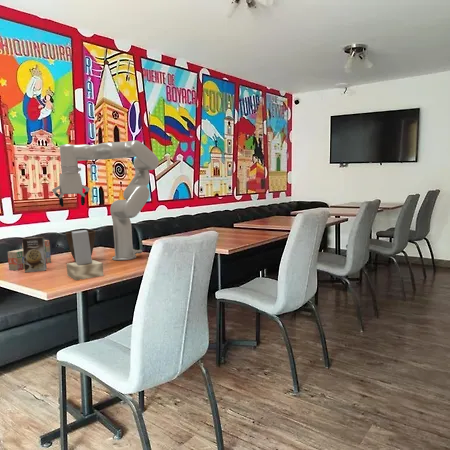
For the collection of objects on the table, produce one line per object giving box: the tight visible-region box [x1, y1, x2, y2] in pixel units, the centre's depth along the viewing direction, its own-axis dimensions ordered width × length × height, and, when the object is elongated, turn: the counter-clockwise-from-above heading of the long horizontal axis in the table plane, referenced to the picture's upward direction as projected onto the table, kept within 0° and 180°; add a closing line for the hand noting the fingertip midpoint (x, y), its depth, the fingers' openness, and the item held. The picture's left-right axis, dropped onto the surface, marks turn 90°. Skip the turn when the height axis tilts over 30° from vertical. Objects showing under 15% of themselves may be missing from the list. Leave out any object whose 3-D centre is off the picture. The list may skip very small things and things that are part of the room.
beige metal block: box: [66, 259, 105, 281], centre depth 185 cm, size 12×12×6 cm
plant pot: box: [65, 229, 96, 262], centre depth 220 cm, size 15×15×16 cm
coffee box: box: [22, 236, 48, 273], centre depth 201 cm, size 9×6×16 cm
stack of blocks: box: [7, 239, 52, 271], centre depth 214 cm, size 21×6×12 cm, turn 158°
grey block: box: [72, 229, 93, 265], centre depth 184 cm, size 6×7×14 cm
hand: (72, 205), depth 203 cm, fingers open, 9 cm apart
